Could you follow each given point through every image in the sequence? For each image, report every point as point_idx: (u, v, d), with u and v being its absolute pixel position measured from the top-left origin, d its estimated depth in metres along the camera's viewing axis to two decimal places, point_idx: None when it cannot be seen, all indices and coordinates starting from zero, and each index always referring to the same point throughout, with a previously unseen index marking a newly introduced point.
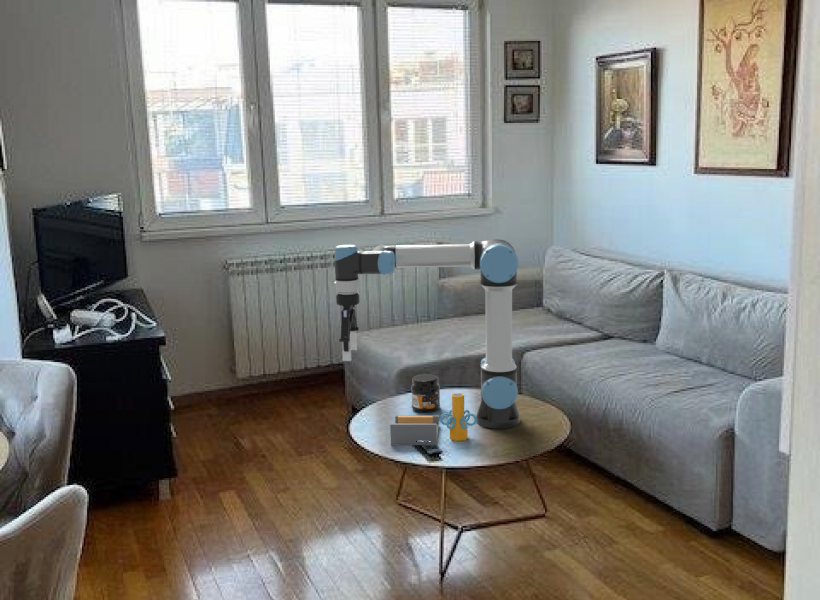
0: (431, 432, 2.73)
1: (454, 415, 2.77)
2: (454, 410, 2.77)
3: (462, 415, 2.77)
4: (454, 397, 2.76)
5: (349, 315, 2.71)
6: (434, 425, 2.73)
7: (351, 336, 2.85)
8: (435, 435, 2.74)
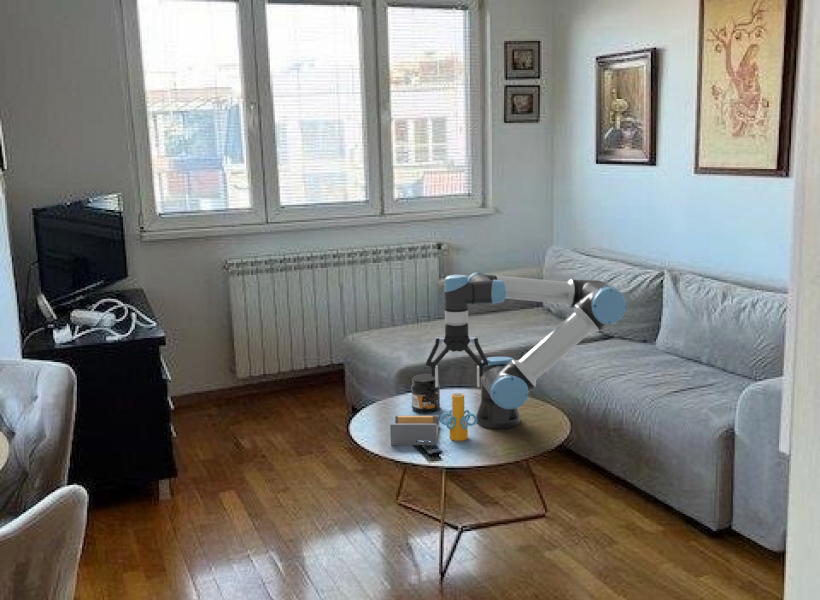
0: (431, 432, 2.73)
1: (454, 415, 2.77)
2: (454, 410, 2.77)
3: (462, 415, 2.77)
4: (454, 397, 2.76)
5: (439, 343, 2.73)
6: (434, 425, 2.73)
7: None
8: (435, 435, 2.74)
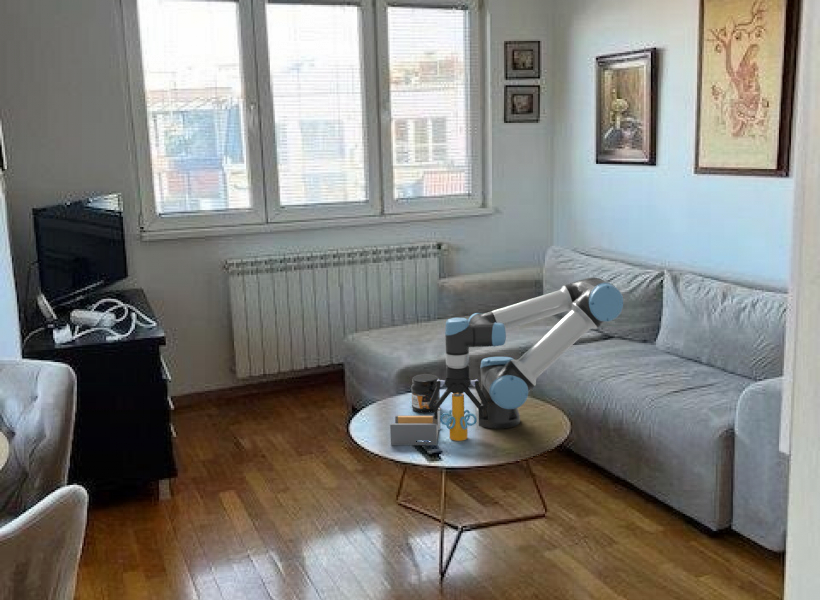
0: (431, 432, 2.73)
1: (454, 415, 2.77)
2: (454, 410, 2.77)
3: (462, 415, 2.77)
4: (454, 397, 2.76)
5: (440, 386, 2.76)
6: (434, 425, 2.73)
7: None
8: (435, 435, 2.74)
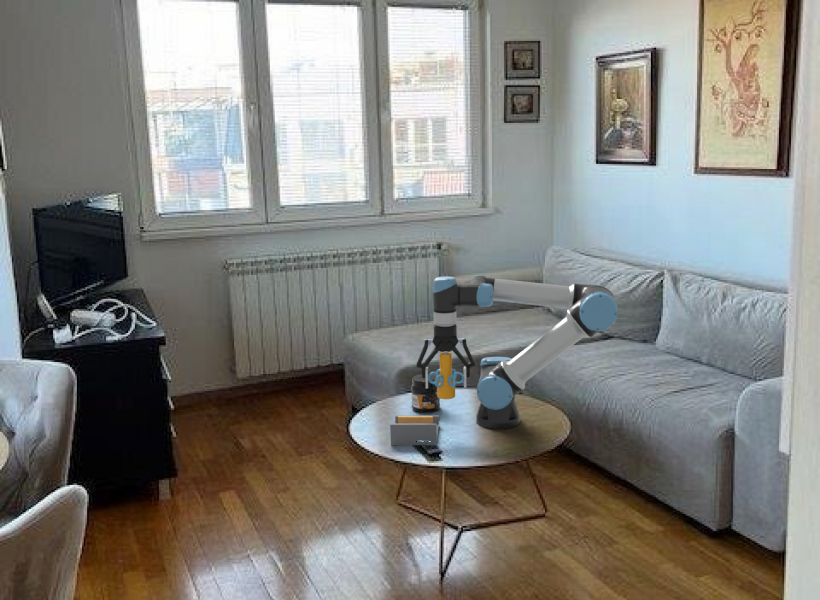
0: (431, 432, 2.73)
1: (442, 374, 2.79)
2: (442, 369, 2.78)
3: (450, 373, 2.79)
4: (442, 355, 2.77)
5: (428, 344, 2.77)
6: (434, 425, 2.73)
7: None
8: (435, 435, 2.74)
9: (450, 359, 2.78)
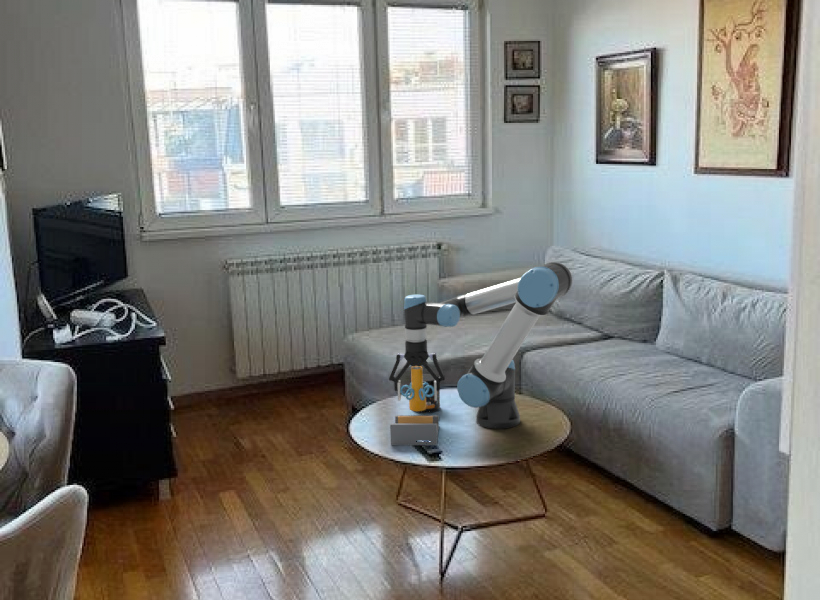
0: (431, 432, 2.73)
1: (413, 387, 2.92)
2: (413, 382, 2.92)
3: (421, 387, 2.92)
4: (413, 370, 2.91)
5: (400, 359, 2.91)
6: (434, 425, 2.73)
7: None
8: (435, 435, 2.74)
9: (421, 373, 2.91)
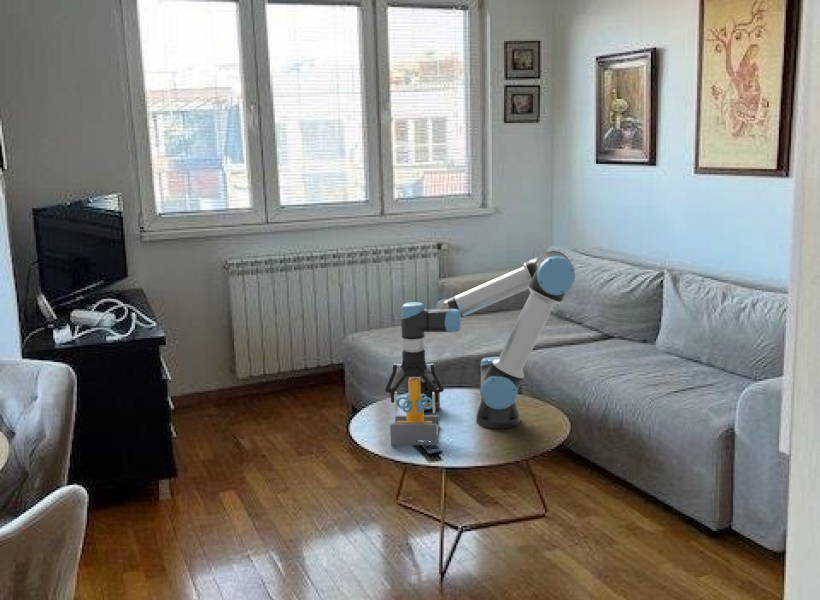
0: (431, 432, 2.73)
1: (410, 399, 2.80)
2: (410, 394, 2.80)
3: (418, 399, 2.80)
4: (410, 381, 2.79)
5: (397, 369, 2.79)
6: (434, 425, 2.73)
7: None
8: (435, 435, 2.74)
9: (418, 384, 2.79)
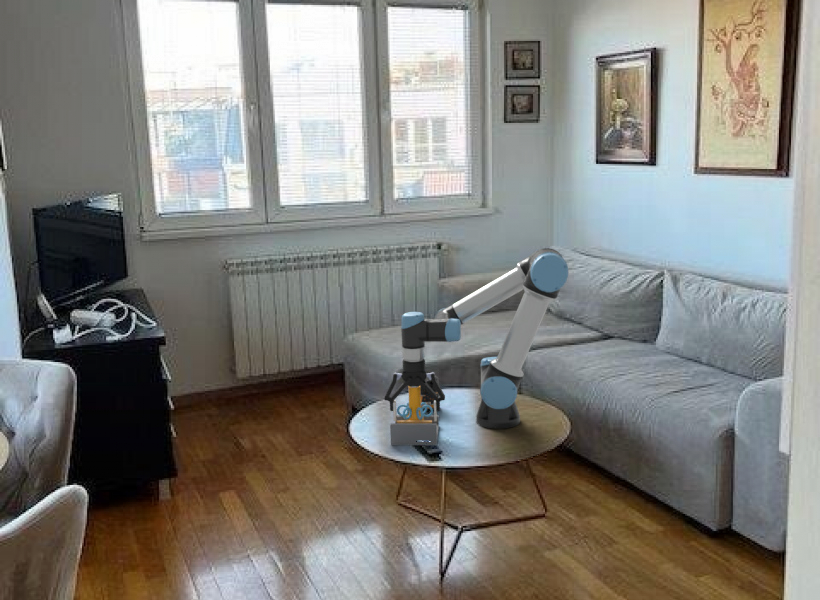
0: (431, 432, 2.73)
1: (410, 406, 2.82)
2: (410, 401, 2.81)
3: (418, 406, 2.82)
4: (410, 388, 2.81)
5: (397, 379, 2.79)
6: (434, 425, 2.73)
7: None
8: (435, 435, 2.74)
9: (418, 392, 2.81)
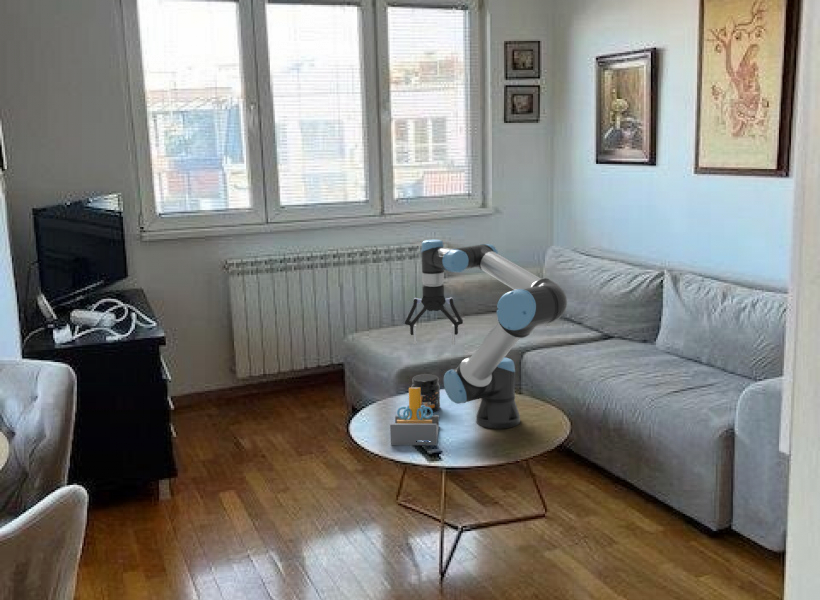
0: (431, 432, 2.73)
1: (411, 408, 2.83)
2: (411, 402, 2.83)
3: (418, 408, 2.83)
4: (411, 389, 2.83)
5: (417, 303, 2.93)
6: (434, 425, 2.73)
7: None
8: (435, 435, 2.74)
9: (419, 393, 2.83)
